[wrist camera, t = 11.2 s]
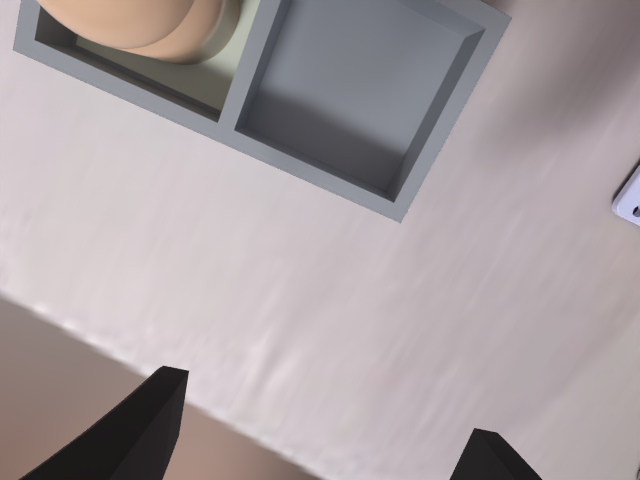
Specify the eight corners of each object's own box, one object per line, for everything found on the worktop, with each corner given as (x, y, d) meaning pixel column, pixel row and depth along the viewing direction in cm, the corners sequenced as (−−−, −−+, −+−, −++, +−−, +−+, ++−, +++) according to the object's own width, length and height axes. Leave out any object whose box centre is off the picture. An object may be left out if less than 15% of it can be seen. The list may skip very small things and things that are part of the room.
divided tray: (481, 31, 15) (512, 17, 13) (389, 206, 17) (400, 222, 15) (109, -168, 13) (59, -230, 11) (61, 58, 15) (12, 50, 13)
